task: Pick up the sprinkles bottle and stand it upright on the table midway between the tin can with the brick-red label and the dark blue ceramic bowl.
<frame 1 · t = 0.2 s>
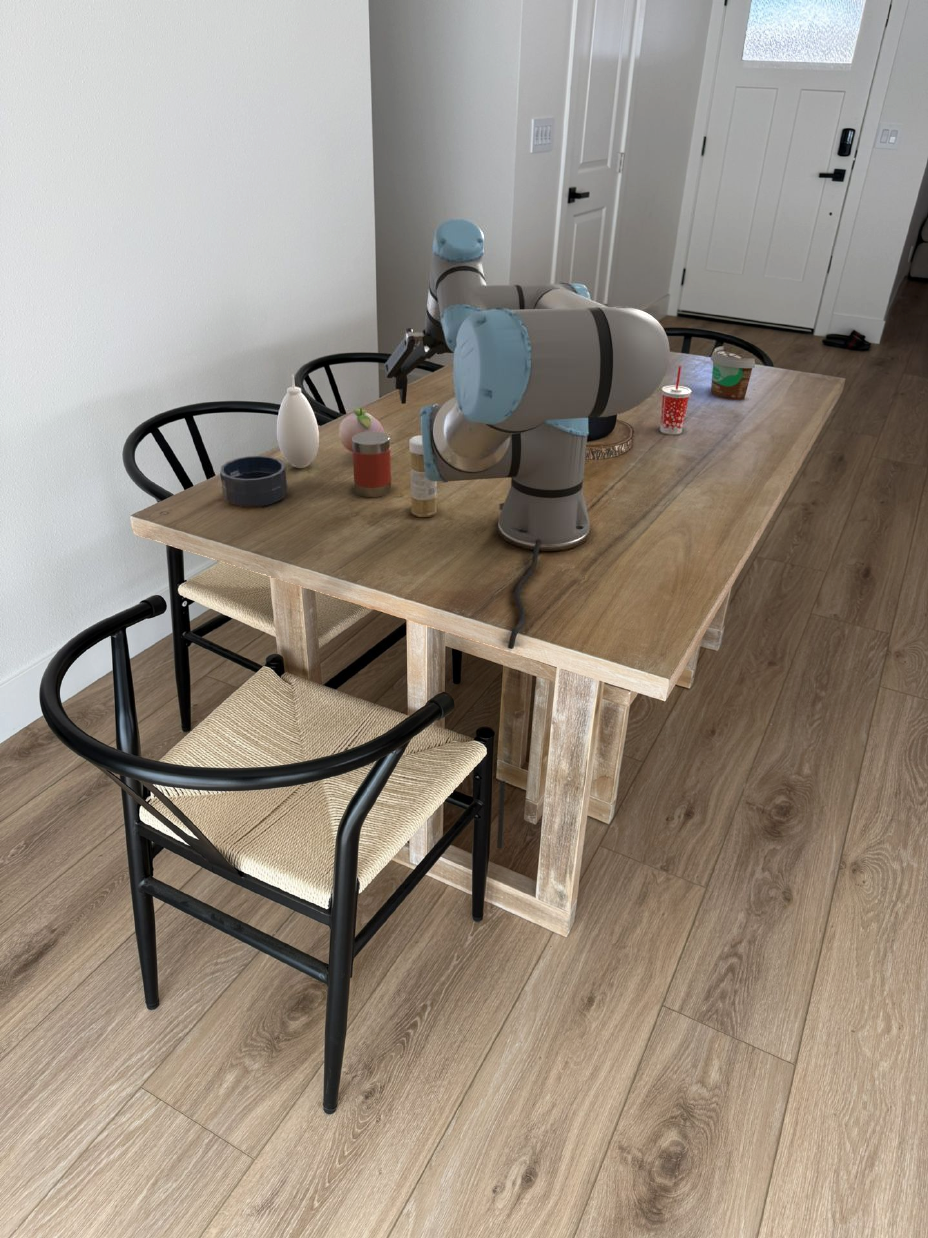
hand: (438, 394, 162), 15 cm above the table, tool tilted 35°, fingers open, 13 cm apart
food container: (721, 396, 212), on the table
decorative fruit: (361, 458, 175), on the table
bowl: (256, 496, 159), on the table
tin can: (373, 489, 162), on the table
beverage cup: (670, 431, 191), on the table
sauce bottle: (300, 467, 171), on the table
sprinkles bottle: (423, 513, 154), on the table
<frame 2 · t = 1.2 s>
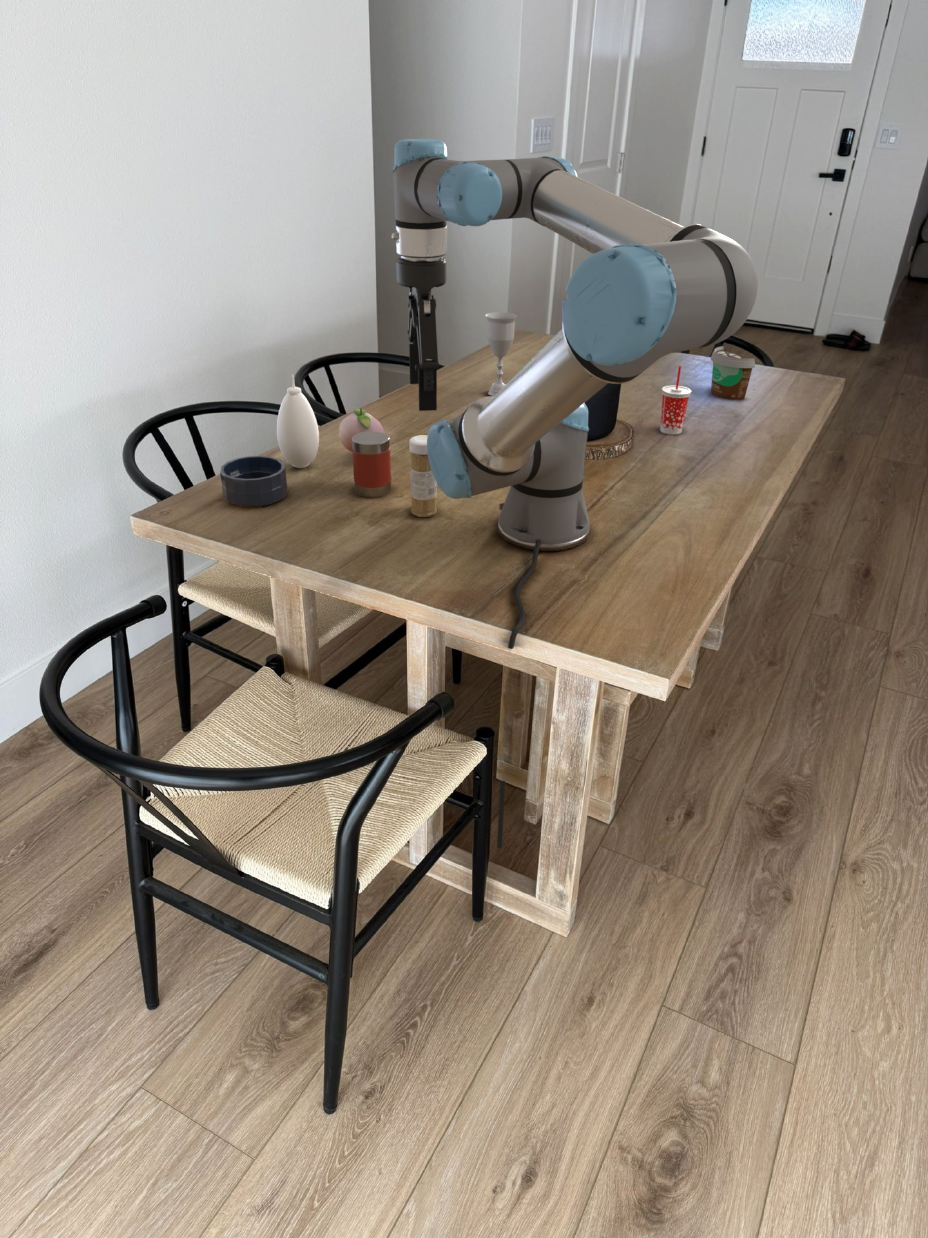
hand: (422, 396, 143), 21 cm above the table, tool pointing down, fingers open, 13 cm apart
nothing on the table moved.
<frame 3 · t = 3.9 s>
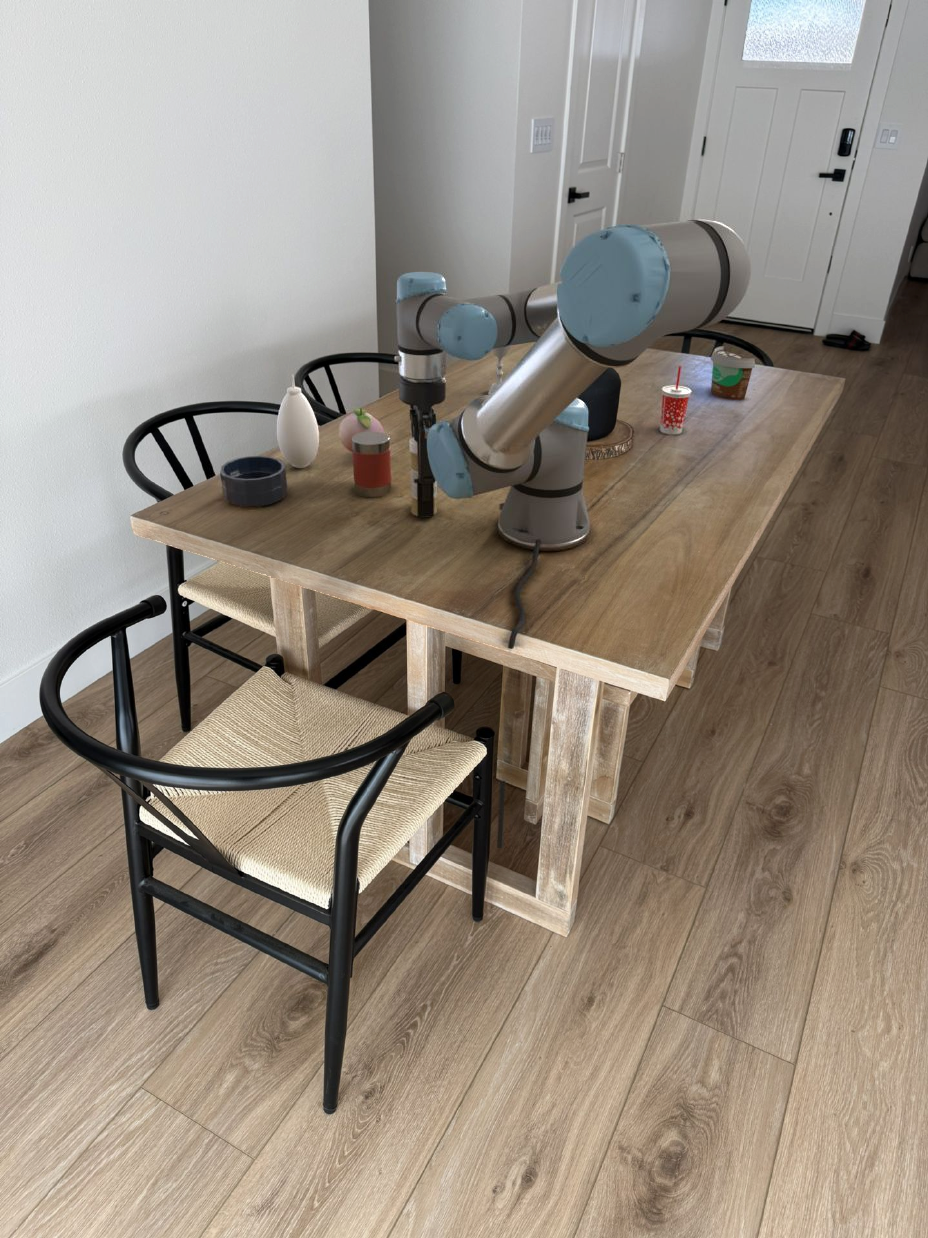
hand: (423, 509, 154), 1 cm above the table, tool pointing down, fingers closed on sprinkles bottle, 4 cm apart
sprinkles bottle: (423, 513, 154), on the table, touching gripper
everything else where it was.
when the fingers open (1 cm above the table, at t = 10.2 s): sprinkles bottle stays where it is, on the table.
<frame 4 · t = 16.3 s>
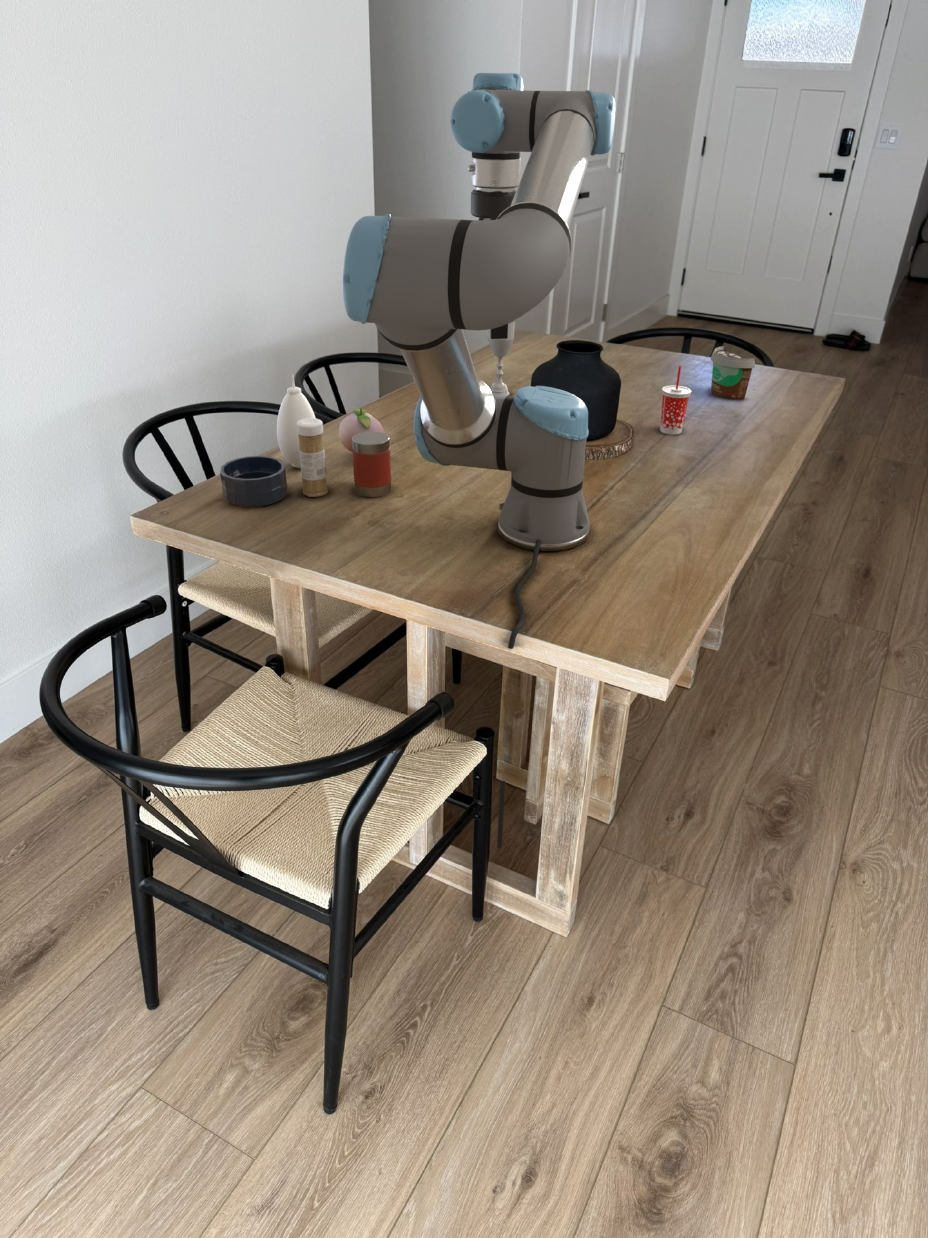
hand: (491, 328, 149), 29 cm above the table, tool pointing down, fingers open, 13 cm apart
sprinkles bottle: (315, 494, 161), on the table
everything else where it was.
at the end: sprinkles bottle 0.0 cm from the target spot on the table beside the bowl, on the table; sprinkles bottle tilted 0°; tin can moved 0.0 cm from its start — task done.
